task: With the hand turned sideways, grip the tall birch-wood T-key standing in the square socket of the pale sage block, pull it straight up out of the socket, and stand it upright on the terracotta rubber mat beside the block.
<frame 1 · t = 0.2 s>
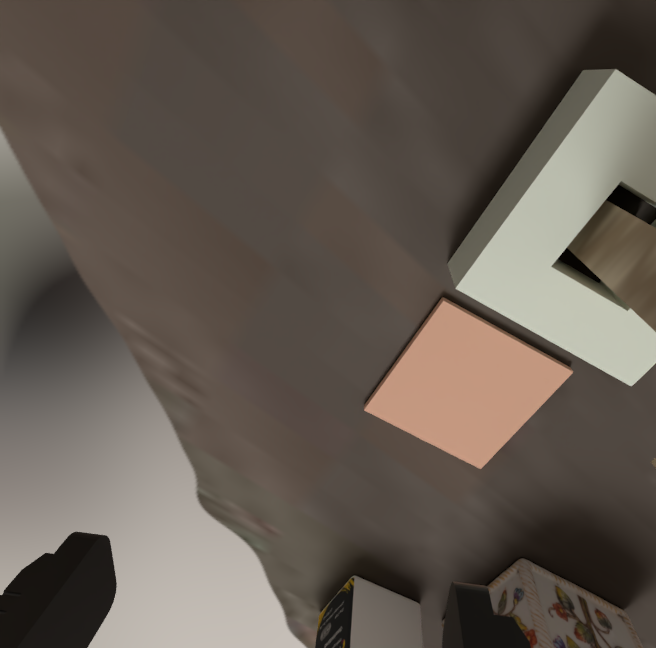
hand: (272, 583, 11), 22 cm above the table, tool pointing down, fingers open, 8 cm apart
decorative jar: (528, 611, 44), on the table
socket block: (594, 228, 28), on the table
mat: (462, 387, 34), on the table
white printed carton: (368, 605, 46), on the table
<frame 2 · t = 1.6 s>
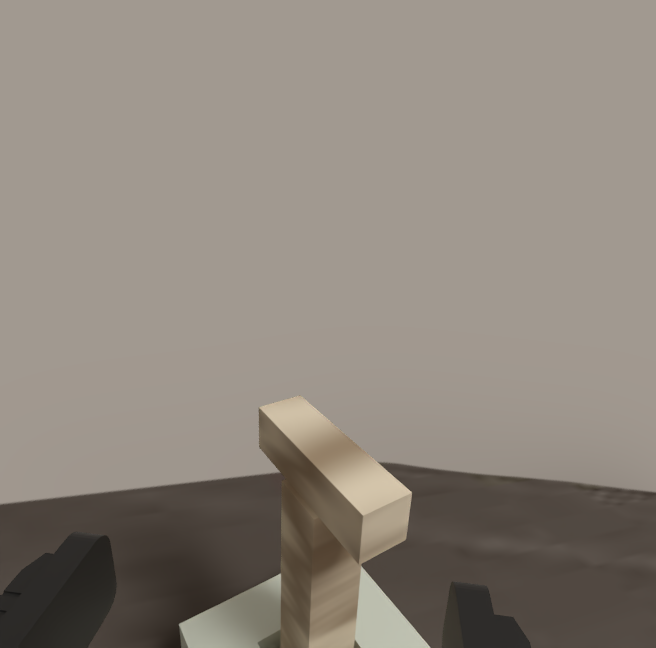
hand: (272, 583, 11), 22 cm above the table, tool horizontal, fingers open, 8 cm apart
t key: (319, 589, 26), in the socket block
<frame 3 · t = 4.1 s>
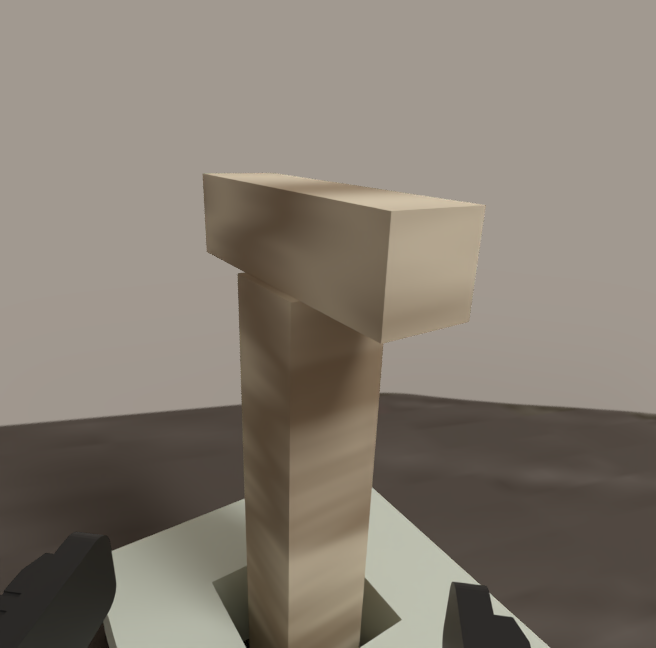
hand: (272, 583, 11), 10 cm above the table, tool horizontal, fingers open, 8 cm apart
t key: (306, 481, 16), in the socket block
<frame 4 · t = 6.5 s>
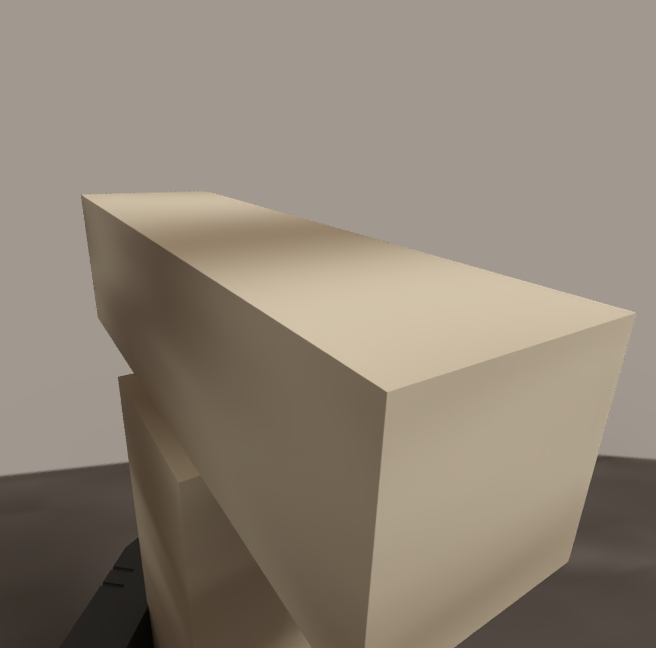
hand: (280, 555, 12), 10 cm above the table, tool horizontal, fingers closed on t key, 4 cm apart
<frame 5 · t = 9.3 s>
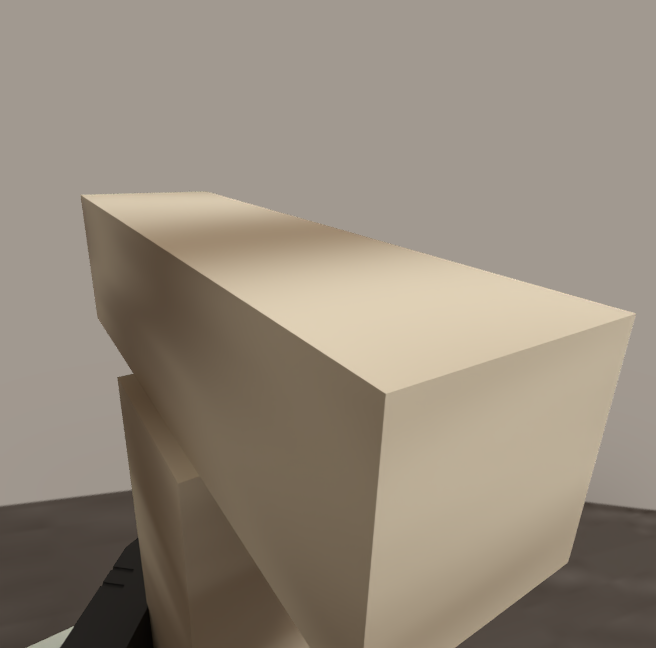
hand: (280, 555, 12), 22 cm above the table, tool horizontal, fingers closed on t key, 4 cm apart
when the fingers open (12 cm above the table, at t = 12.0 s): t key drops 1 cm, resting on mat.
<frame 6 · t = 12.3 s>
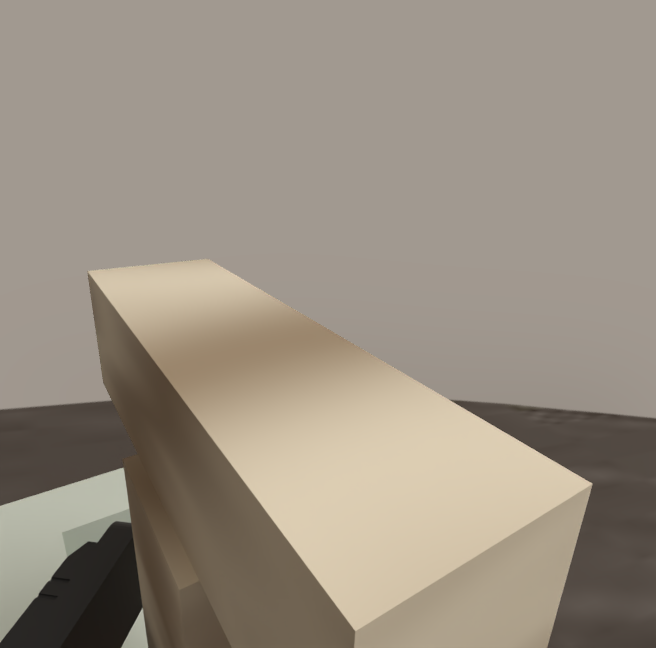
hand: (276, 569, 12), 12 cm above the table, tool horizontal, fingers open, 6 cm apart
socket block: (139, 609, 24), on the table
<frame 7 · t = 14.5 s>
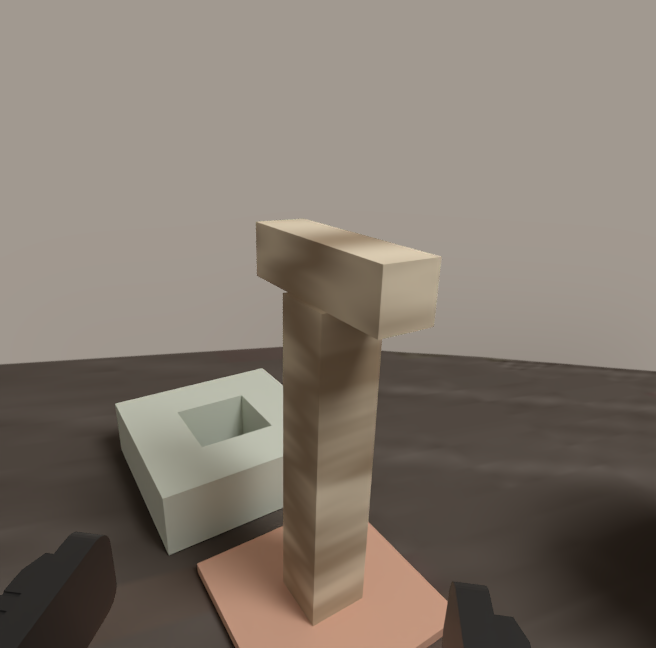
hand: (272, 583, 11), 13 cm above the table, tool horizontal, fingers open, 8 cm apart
socket block: (226, 466, 36), on the table
mat: (322, 596, 26), on the table
t key: (327, 438, 22), on the mat, point 10 cm above the table
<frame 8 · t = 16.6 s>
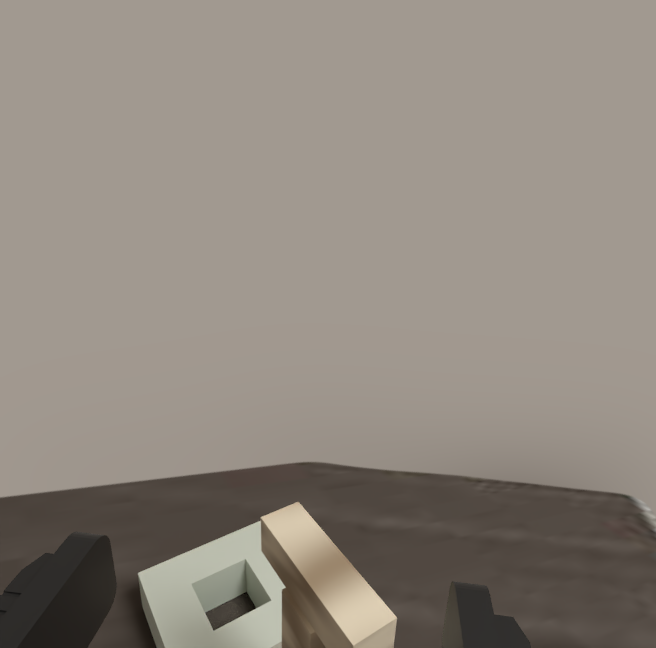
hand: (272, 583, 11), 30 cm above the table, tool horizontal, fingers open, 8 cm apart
socket block: (232, 626, 42), on the table
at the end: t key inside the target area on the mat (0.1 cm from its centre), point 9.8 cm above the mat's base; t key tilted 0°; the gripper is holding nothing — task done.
